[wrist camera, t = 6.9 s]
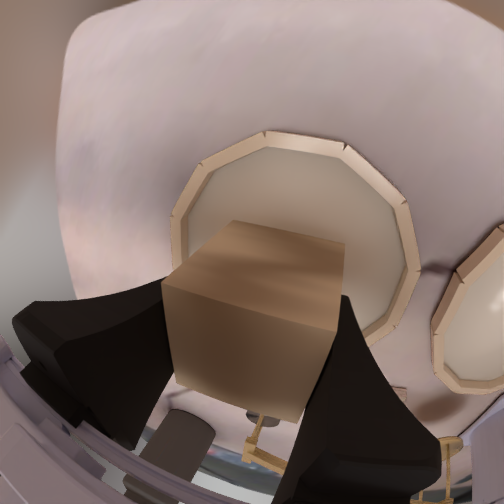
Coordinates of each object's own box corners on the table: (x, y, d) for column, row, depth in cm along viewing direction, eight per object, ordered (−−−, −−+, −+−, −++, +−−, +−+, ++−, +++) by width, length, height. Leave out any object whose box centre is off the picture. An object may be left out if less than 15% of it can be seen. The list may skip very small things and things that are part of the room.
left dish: (440, 167, 9) (450, 172, 8) (367, 365, 15) (366, 381, 14) (185, 124, 12) (170, 125, 11) (188, 316, 18) (178, 328, 17)
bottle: (171, 402, 25) (97, 509, 12) (221, 429, 24) (157, 543, 11) (166, 419, 28) (105, 509, 15) (209, 442, 27) (154, 537, 14)
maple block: (345, 243, 10) (336, 332, 6) (320, 331, 12) (296, 423, 8) (233, 219, 11) (160, 282, 7) (228, 307, 13) (176, 383, 9)
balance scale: (470, 394, 13) (481, 496, 6) (437, 428, 15) (435, 517, 8) (248, 353, 17) (188, 466, 10) (243, 393, 20) (197, 485, 12)
